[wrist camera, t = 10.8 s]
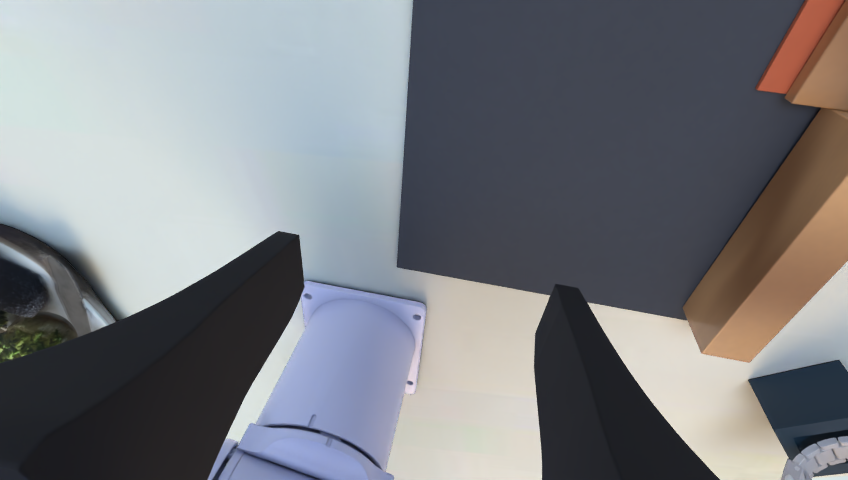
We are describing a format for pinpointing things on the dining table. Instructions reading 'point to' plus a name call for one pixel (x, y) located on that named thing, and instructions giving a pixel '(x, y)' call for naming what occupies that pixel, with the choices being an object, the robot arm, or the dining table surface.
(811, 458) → the watch
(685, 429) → the dining table surface
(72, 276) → the salad plate
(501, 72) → the corner mat
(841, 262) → the spatula
